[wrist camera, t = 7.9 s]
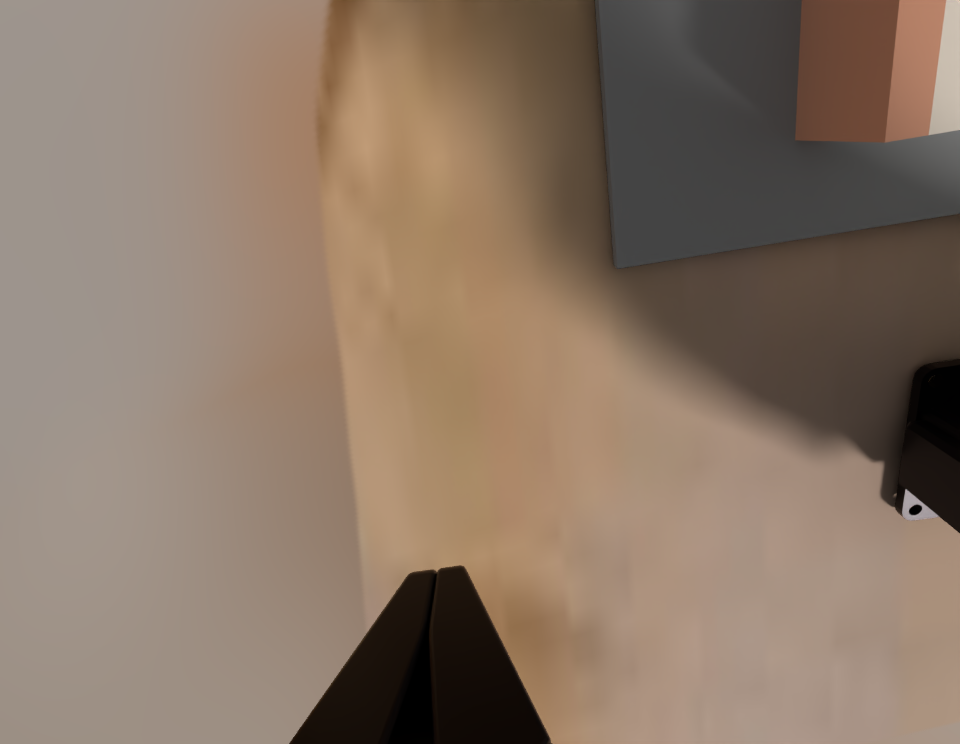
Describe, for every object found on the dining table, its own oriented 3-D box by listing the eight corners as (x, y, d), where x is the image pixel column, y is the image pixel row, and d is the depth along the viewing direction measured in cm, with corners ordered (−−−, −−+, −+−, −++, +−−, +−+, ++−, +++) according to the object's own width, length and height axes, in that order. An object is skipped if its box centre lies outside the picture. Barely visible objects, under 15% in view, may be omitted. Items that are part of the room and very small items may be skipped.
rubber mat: (1108, -258, 14) (1129, -271, 14) (1019, 200, 18) (1033, 201, 18) (583, -155, 15) (587, -165, 14) (613, 265, 19) (617, 269, 19)
